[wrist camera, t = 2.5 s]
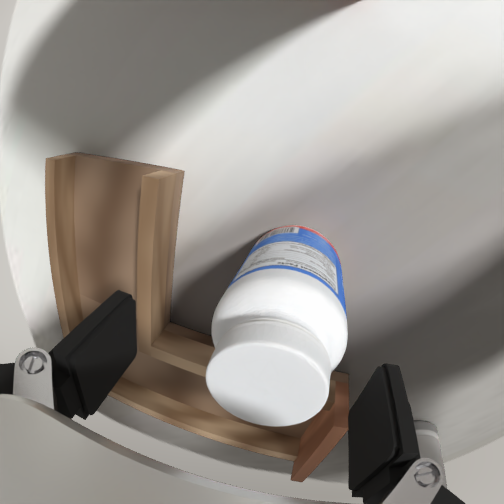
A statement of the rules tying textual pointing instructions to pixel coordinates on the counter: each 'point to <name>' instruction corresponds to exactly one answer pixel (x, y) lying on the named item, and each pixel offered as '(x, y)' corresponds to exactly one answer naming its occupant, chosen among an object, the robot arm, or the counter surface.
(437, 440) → the travel mug
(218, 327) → the pill bottle
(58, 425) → the robot arm
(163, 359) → the channel track
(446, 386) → the counter surface
